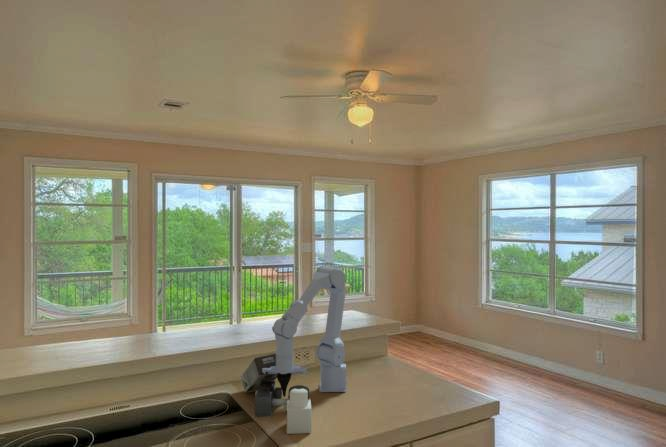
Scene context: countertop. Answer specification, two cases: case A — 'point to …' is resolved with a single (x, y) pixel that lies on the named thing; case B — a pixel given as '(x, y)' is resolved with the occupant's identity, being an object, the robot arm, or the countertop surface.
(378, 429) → the countertop surface
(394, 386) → the countertop surface
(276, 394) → the knob dark gray
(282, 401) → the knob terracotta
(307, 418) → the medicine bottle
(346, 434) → the countertop surface
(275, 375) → the coffee box
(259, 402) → the mount
